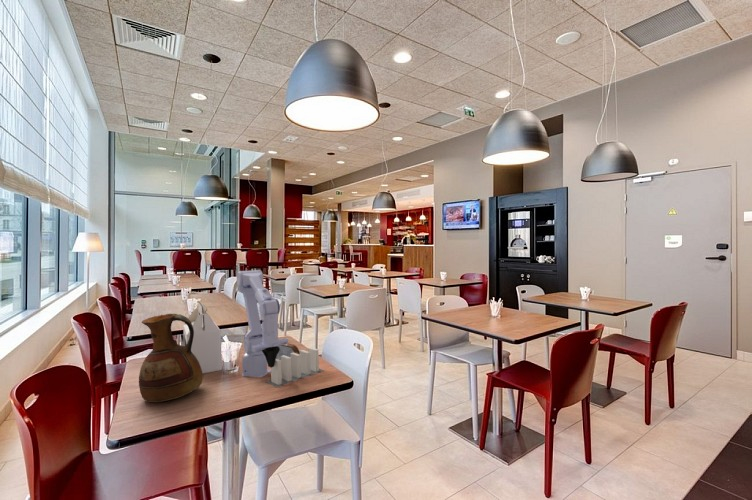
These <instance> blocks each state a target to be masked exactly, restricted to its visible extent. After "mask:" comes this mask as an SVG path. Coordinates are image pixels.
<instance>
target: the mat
mask: <svg viewBox="0 0 752 500" xmlns="http://www.w3.org/2000/svg"><path fill="white" fill-rule="evenodd" d="M324 371H325V370H324V369H321V368H319V371H317V372H315V371H313V370H310V374H308V375H306V374H304V373H301V377H300V378H297V377H294V376H292V380H291V381H286V380H284V379H282V384H280V385H277V384H275V383H273V382H271V379H270V380H267V381H265V383H266V384H268V385H269V386H270V385H271V386H272V387H274V388H279V387H282V386H284V385H287V384H290V383H293V382H296V381H298V380H302V379H305V378H307V377H310V376H314V375H316V374H318V373H322V372H324Z"/></svg>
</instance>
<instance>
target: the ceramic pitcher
mask: <svg viewBox="0 0 752 500" xmlns="http://www.w3.org/2000/svg"><path fill="white" fill-rule="evenodd" d="M188 318H189V317H187V316H185V315H182V314H178V313H165V314H159V315H154V316H152V317H148V318H146V319H143V320H142V321H141V324H143V325H145V326H146V327H147V328H148V329H149V331H150V337H151V339H152V341H153V345H152V350H151V351H150V352H149V353H148V354H147V355H146V357H145V358H144V360H143V363H142V365H141V367H140V370H139V376H138V387H139V388H138V389H139V391H140V392H139V393H140V396H141V397H142V399H143V400H144V401H145V402H150V403H151V402H152V403H160V402H166V401H170V400H175V399H177V398H178V399H179V398H181V397H183V396H185V395H187V394H189V393H191V392H193V391H195V390H197V389H198V388H199V387H201V386H202V383H203V379H204V378H203V377H204V376H203V374H204V373H203V374H202V369H201V366H200V364H199V361H198V360H197V358H196V357H195V355H194V354H193V353H192V352H191V347H192V342H193V336H194V329H193V326H192V323H191V321H190V320H189V319H188ZM175 321H179V322H183V323H184V324H185V323H186V324H187V326H188V328H189V331H190V337H189V340H188V343H187V344H186V345H185V346H184V345H182V344H181V345H180V344H178V343H177V342H176V341H175V339H174V337H173V333H172V332H173V331H172V324H173V322H175Z"/></svg>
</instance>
